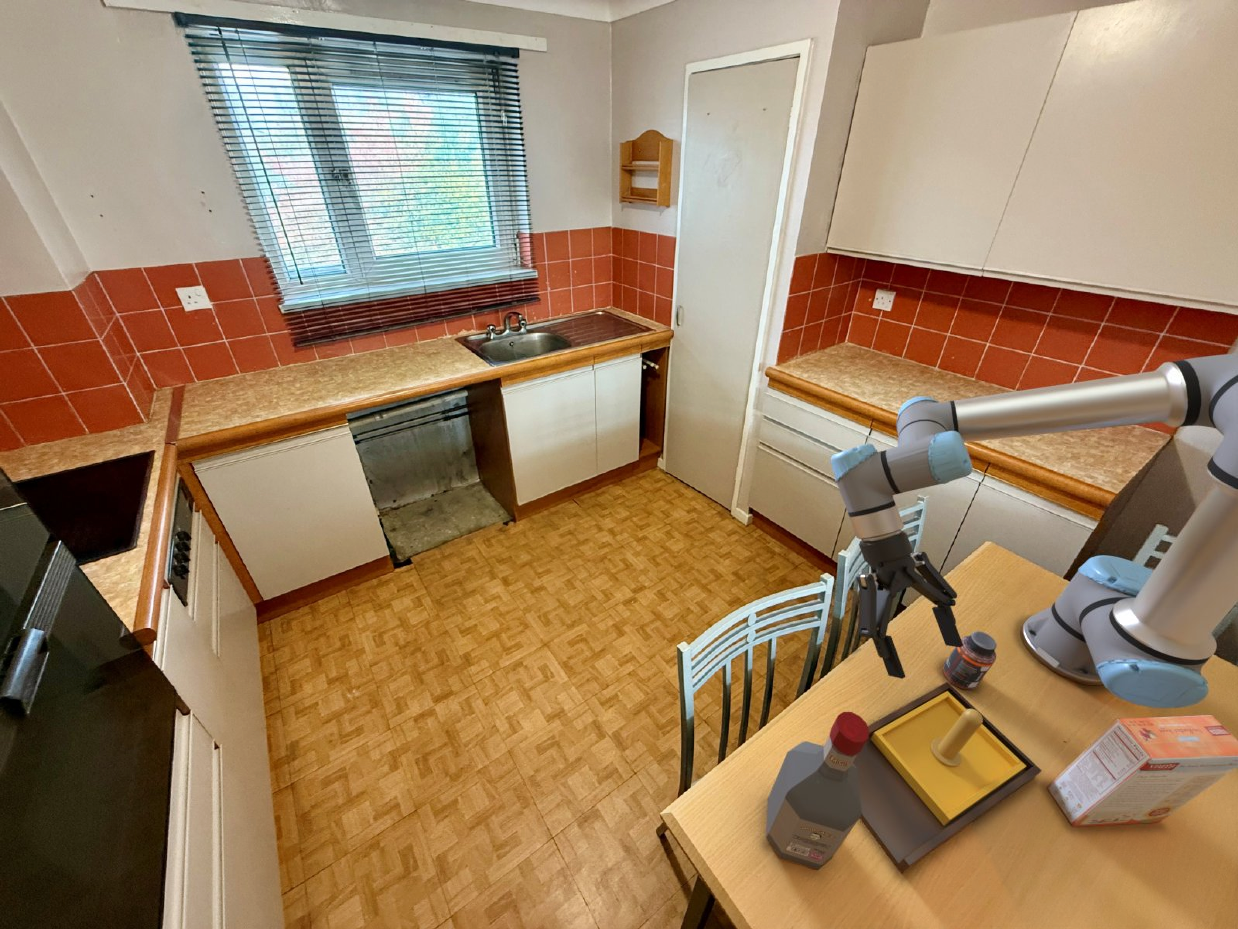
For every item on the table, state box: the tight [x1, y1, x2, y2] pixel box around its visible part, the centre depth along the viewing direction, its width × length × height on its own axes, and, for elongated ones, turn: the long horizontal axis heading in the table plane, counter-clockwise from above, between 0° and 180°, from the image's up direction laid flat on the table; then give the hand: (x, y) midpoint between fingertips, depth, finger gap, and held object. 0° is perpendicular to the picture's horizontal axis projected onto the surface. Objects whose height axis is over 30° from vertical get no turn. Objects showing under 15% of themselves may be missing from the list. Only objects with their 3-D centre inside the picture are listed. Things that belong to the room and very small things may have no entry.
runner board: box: [853, 681, 1042, 875], centre depth 82 cm, size 30×17×3 cm, turn 115°
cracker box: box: [1046, 714, 1238, 827], centre depth 73 cm, size 14×6×21 cm, turn 92°
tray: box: [871, 691, 1026, 826], centre depth 80 cm, size 18×14×13 cm
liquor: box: [765, 711, 869, 871], centre depth 67 cm, size 9×9×30 cm
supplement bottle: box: [942, 630, 998, 690], centre depth 94 cm, size 6×6×11 cm
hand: (926, 660), depth 82 cm, fingers open, 13 cm apart
